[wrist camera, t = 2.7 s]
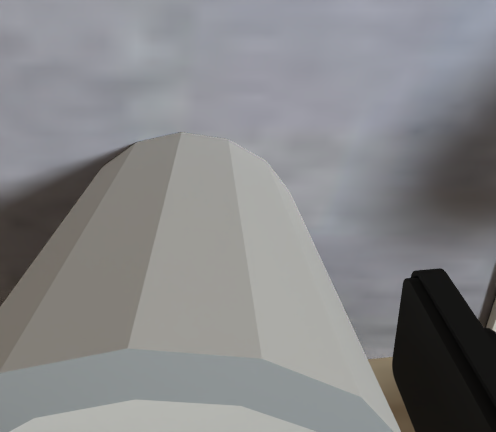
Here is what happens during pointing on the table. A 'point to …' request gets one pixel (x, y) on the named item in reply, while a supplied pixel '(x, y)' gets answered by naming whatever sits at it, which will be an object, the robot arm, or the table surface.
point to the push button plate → (492, 318)
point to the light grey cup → (183, 308)
